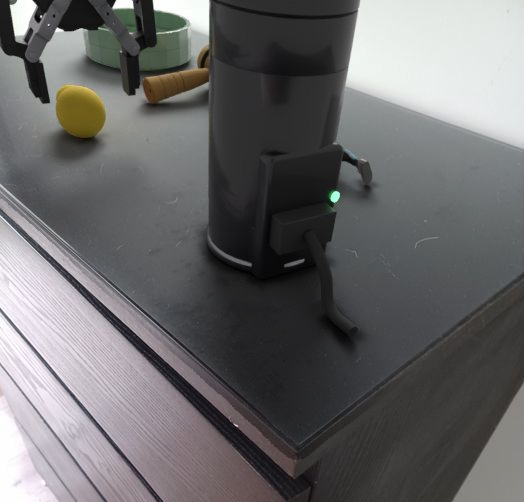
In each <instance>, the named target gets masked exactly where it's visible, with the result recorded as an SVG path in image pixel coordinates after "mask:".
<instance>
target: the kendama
mask: <svg viewBox="0 0 524 502" xmlns="http://www.w3.org/2000/svg"><path fill="white" fill-rule="evenodd" d="M196 66H197V68H194V69H192V68H191V69H186V70H181V71H176V72H171V73H165V74H160V75H153V76H146V77H144V78H143V79H142V88H143V93H144V95H145V98H146V100H147V101H148V102H149V103H150V104H151V105H154V104H158V103H160V102H162V101H163V100H166V99H170V98H172V97H176V96H178V95H180V94H183V93H186V92H189V91H192V90H194V89H196V88H199V87H201V86H203V85H206V84H208V83H209V44H207V45H205V46H204V47H203V48H202V49H201V50H200V52H199V54H198V55H197V61H196Z"/></svg>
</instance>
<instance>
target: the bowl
mask: <svg viewBox="0 0 524 502" xmlns="http://www.w3.org/2000/svg"><path fill="white" fill-rule="evenodd" d="M112 9H113V11H114V12H115V13H116V15H117V16H118V17H119V19H120V20H121V21H122V23H123V24H124V25H125V27H126V28H127V30H128V31H129V33H130V34H133V33H135V32H137V31H136V23H135V15H134V7H113V8H112ZM154 15H155V25H156V35H157V44H156V46H155V47H153V48H150V47H148V48H146V49H144V50H142V51H141V52H140V54H139V70H140V72H155V71H163V70H169V69H172V68H175V67H179V66H181V65H185V64H186V63H188V62H189V61H190V60H191V58H192V23H191V21H190V19H188V18H187V17H185V16H183V15H180V14H178V13H174V12H171V11H166V10H161V9H154ZM98 29H99V30H93V31H90V30H86V29H82V33H83V34H82V35H83V40H84V46H85V55H86V56H87V57H88V58H89V59H90V60H91V61H92V62H94V63H95V62H96V63H98V64H100V65H104V66H107V67H109V68H113V69H118V70H121V67H120V56H119V51H122V46H121V45H120V44H119V42H118V41H117V40H116V38H115V37H114V36H113V35H112V33H111V32H110V31H109V30H108V29H107V28H106V26H105V25H104V24H103V26H101V27H100V28H98Z"/></svg>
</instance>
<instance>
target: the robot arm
mask: <svg viewBox="0 0 524 502" xmlns="http://www.w3.org/2000/svg"><path fill="white" fill-rule="evenodd" d="M31 1H32V2H33V3H34V4H35V8H34V11H33V13H32V15H31V16H30V19H29V21H28V26H27V29H26V31H25V33H24V35H23V37H22V38H21V39H20V38H17V37H16V35H15V28H14V22H13V16H12V15H13V14H12V9H11V6H15V4H16V3H17V2H18V0H0V49H1V50H2V52H3V53H4V54H5V55H6V56H9V57H16V58H19V59H21V60H22V61H23V65H24V69H25V73H26V75H25V76H26V79H27V84H28V88H29V89H30V92H31V93H32V95H33V96H34V97H35V99H39V101H40V103H41V104H42V105H46V104H51V98H50V93H49V88H48V87H49V86H48V83H47V78H46V77H47V76H46V73H45V66H44V62H43V61H42V60H41V56H42V54H43V52H44V50H45V48H46V46H47V45H48V43H49V42H51V41H52V39H53V36H54V35H55V33H56V31H57V29H59V30H62V31H63V32H64V33H66V32H67V33H69V32H70V33H71V32H75V31H78V30H83V29H86V30H90V31H93V30H99V29H98V28H100V27H101V26H103V24H104V25H105V26H106V28H107V29H108V30H109V31H110V32H111V33H112V35H113V36H114V37H115V38H116V40H117V41H118V42H119V44H120V45H121V46H122V51H119V56H120V67H121V69H120V76H121V86H122V90H123V92H124V93H125V94H126V95H127V96H129V97H131V96H136V95H137V91H136V90H139V89H140V86H141V73H140V72H141V71H140V70H139V54H140V52H141V51H142V50H144V49H146V48H148V47H150V48H153V47H155V46H156V44H157V35H156V25H155V15H154V10H155V5H154V0H131V1H132V6H133V7H132V8H134V15H135V23H136V31H137V32H135V33H133V34H130V33H129V31H128V30H127V28H126V27H125V25H124V24H123V23H122V21H121V20H120V19H119V17H118V16H117V15H116V13H115V12H114V11H113V9H112V8H114V6H115V4H116V2H117V0H31ZM208 3H209V4H208V45H209V82H208V150H207V151H208V162H207V163H208V165H207V166H208V168H207V169H208V173H207V174H208V175H207V178H208V181H207V183H208V185H207V187H208V188H207V189H208V191H207V192H208V193H207V196H208V197H207V199H208V224H207V228H206V243H207V246H208V248H209V250H210V251H211V253H212V254H213V255H214V256H215V257H216V258H217V259H219V260H220V261H221V262H223V263H225V264H226V265H228V266H231V267H234V268H235V269H238V270H242V271H246V272H249V273H251V274H253V275H254V276H255V277H256V279H258V280H264V279H268V278H272V277H276V276H278V275H282V274H285V273H286V274H287V273H289V272H293V271H296V270H297V271H298V270H300V269H304V268H306V267H310V266H313V265H315V266H316V270H317V272H318V276H319V281H320V299H321V305H322V308H323V311H324V312H325V314H326V316H327V318H328V320H330V321H331V322H332V323H333V324H334V326H335V327H337V328H338V329H340V330H341V331H342V332H343V333H345V334H346V335H347V336H348V337H354V336H356V334H357V333H358V331H359V327H357V326H356V325H355V324H354V323H353V322H352V321H351V320H350V319H348V318H347V317H345V316H344V315H343V314H342V313H341V312H340V311H339V309H338V308H337V306H336V303H335V300H334V281H333V273H332V270H331V266H330V264H329V261H328V258H327V255H326V251H327V246H328V244H329V243H331V242H332V239H333V233H334V229H335V223H336V218H337V210H336V209H335V208H334V207H335V203H336V202H337V201H338V200H339V199H340V196H341V195H340V192H339V191H337V190H338V185H339V180H340V174H341V168H342V162H343V161H342V158H343V152H344V149H343V148H344V146H343V145H342V144H341V143H339V142H337V138H338V132H339V126H340V122H341V115H342V108H343V104H344V97H345V92H346V87H347V86H346V85H347V79H348V74H349V73H348V72H349V67H350V62H351V57H352V50H353V45H354V39H355V34H356V27H357V22H358V15H359V9H360V7H361V6H360V5H361V0H208Z"/></svg>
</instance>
